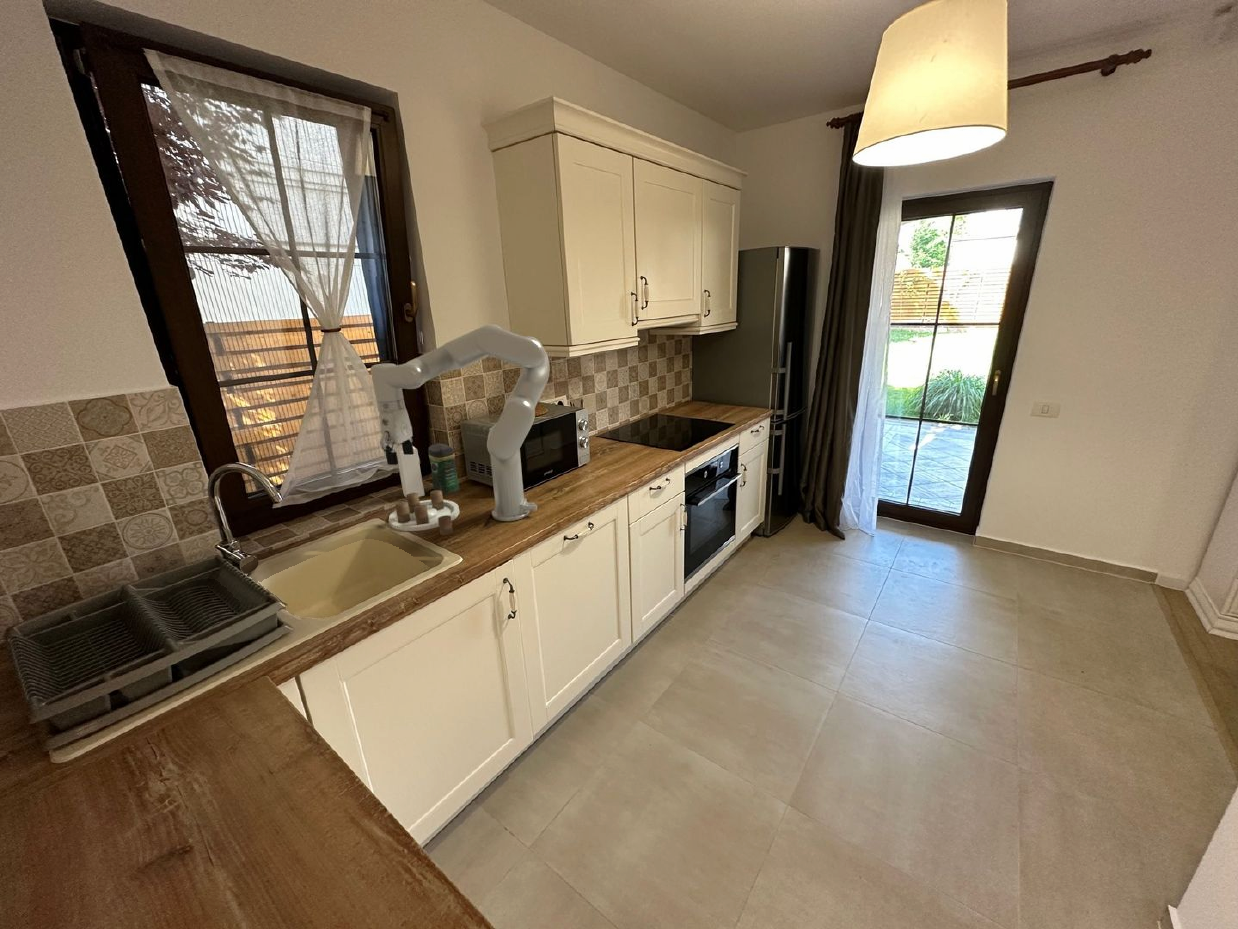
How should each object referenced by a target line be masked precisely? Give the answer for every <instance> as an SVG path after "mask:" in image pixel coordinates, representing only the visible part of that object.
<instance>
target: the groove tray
mask: <svg viewBox="0 0 1238 929" xmlns="http://www.w3.org/2000/svg"><path fill="white" fill-rule="evenodd" d="M419 502H420V505H426V506H427V511H428V517H429V523H428V524H421V525H417V523H416V517H415V512H414V513H410V518H411V520H410V521H409V522H407V523H399V522H398V518H397V512H396V509H395V510H394V511H393V512H392V513H390V514H389V518H388V524H389V526H391V528H393V529H395V530H398V531H405V532H418V531H426V530H431V529H435V528H439V523H438V518H439V517H441V516H445V515H448V516H451V521H452V522H453V521H454V520H455V519H456V518H458V516H459V514H460V508H459V504H457V503H456V502H454V501H451V500H447V499H443V503H444V508H443V509H442V510H436V509H434V508H432V502H431V499H427V500H425V499H424V500H419Z"/></svg>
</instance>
